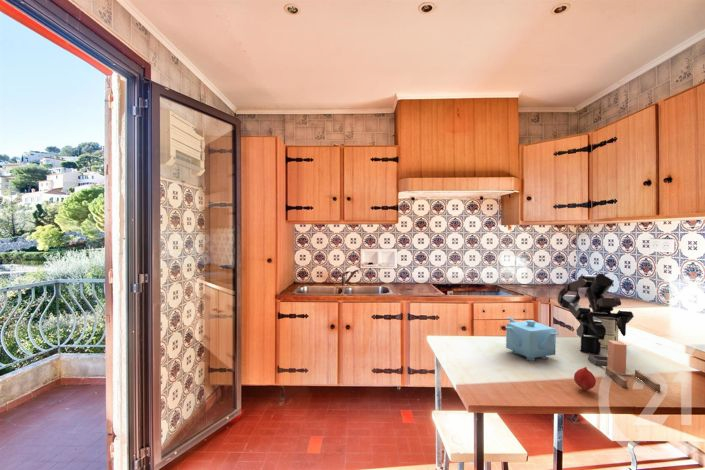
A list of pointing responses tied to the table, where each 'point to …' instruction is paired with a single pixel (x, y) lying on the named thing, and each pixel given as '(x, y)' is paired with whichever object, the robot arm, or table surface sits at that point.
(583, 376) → the onion
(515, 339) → the blue lidded box
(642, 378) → the channel
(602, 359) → the tray
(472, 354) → the table surface
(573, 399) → the table surface
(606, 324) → the coffee can
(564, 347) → the table surface
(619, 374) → the pad
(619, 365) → the block
